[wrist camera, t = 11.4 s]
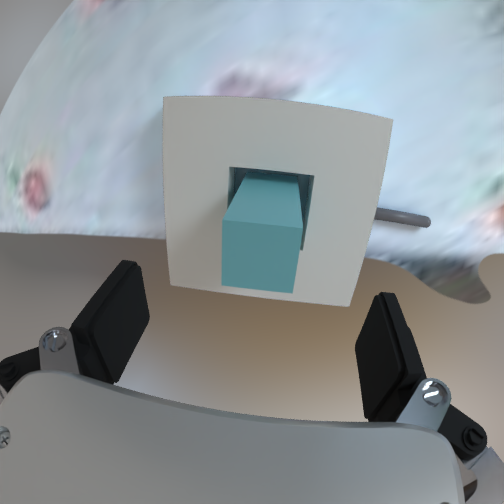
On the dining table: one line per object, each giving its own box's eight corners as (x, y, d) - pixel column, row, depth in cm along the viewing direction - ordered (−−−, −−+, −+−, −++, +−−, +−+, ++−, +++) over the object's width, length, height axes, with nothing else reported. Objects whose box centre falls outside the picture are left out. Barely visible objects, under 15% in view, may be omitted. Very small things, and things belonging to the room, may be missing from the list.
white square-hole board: (447, 135, 19) (465, 141, 17) (402, 292, 27) (411, 311, 25) (177, 96, 21) (163, 96, 18) (180, 267, 29) (170, 285, 26)
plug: (297, 176, 23) (303, 228, 14) (291, 221, 25) (292, 293, 16) (247, 171, 23) (222, 219, 15) (244, 216, 25) (221, 285, 17)
